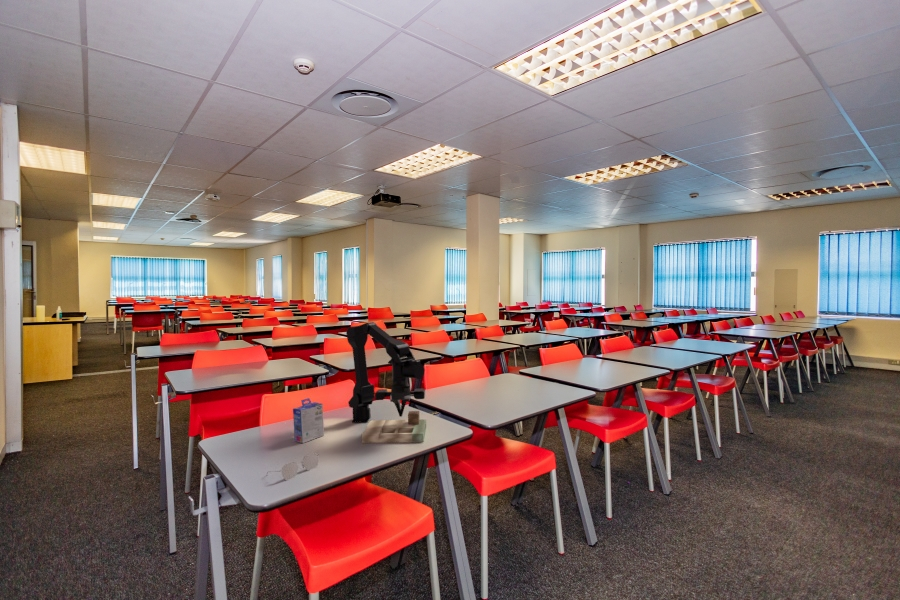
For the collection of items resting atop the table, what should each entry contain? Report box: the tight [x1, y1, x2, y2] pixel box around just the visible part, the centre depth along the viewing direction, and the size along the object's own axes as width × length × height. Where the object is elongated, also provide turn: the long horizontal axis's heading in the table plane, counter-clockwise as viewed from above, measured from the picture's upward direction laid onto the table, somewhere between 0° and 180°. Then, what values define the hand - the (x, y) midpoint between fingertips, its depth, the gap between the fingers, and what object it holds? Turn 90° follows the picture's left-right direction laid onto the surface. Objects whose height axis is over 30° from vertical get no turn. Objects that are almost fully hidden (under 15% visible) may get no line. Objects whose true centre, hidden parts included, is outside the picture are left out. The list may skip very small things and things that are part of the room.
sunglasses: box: [266, 452, 320, 481], centre depth 130 cm, size 14×8×5 cm, turn 146°
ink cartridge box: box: [292, 398, 325, 444], centre depth 157 cm, size 10×6×14 cm, turn 145°
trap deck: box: [361, 419, 427, 444], centre depth 159 cm, size 22×16×3 cm
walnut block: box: [407, 410, 421, 425], centre depth 163 cm, size 4×4×4 cm
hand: (400, 416), depth 163 cm, fingers closed
